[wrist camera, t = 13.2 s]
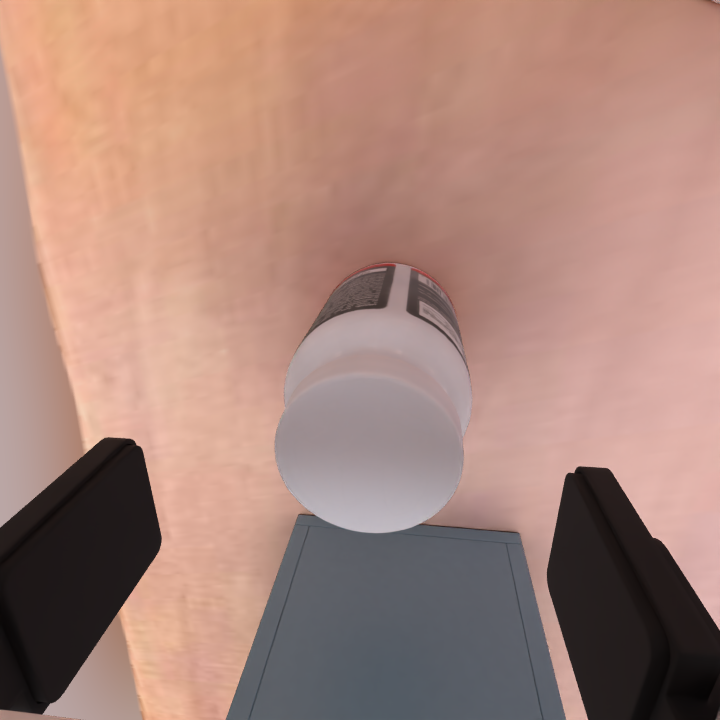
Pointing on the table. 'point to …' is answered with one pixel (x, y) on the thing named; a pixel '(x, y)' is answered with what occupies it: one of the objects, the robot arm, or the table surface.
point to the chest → (399, 630)
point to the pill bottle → (377, 403)
